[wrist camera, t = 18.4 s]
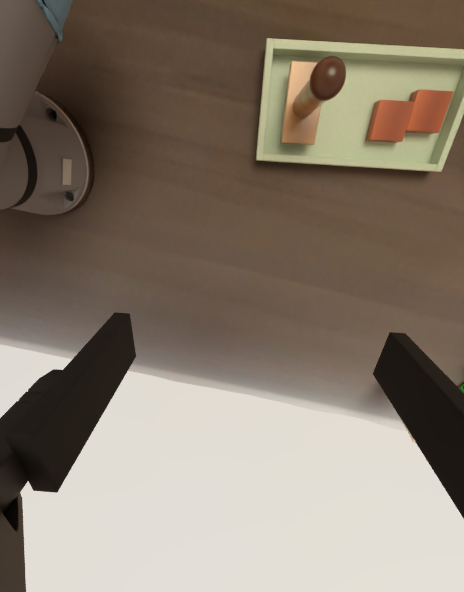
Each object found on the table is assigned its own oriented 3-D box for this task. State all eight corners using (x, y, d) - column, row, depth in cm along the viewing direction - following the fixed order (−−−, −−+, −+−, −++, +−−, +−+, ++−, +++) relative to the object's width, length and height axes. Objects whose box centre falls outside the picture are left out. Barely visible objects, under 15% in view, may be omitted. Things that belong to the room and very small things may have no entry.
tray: (255, 160, 35) (256, 160, 32) (265, 47, 29) (267, 38, 27) (429, 171, 34) (441, 171, 32) (470, 59, 29) (488, 50, 27)
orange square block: (399, 132, 32) (405, 130, 31) (411, 92, 30) (418, 89, 29) (431, 134, 32) (439, 132, 31) (444, 94, 30) (454, 91, 29)
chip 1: (364, 140, 33) (369, 139, 31) (374, 102, 31) (380, 99, 29) (396, 142, 32) (402, 141, 31) (407, 104, 31) (414, 101, 29)
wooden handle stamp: (278, 144, 33) (298, 130, 21) (287, 69, 30) (316, 2, 18) (309, 146, 33) (346, 133, 21) (321, 71, 30) (373, 5, 18)
